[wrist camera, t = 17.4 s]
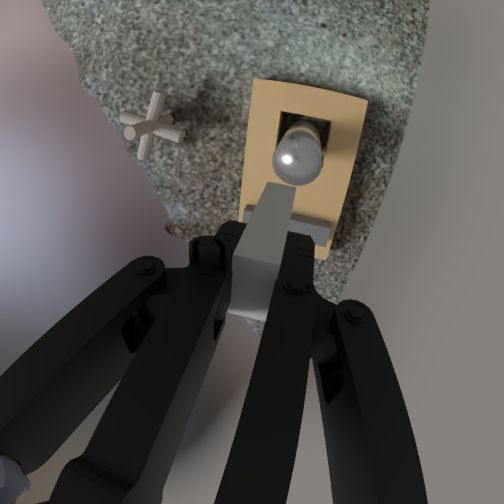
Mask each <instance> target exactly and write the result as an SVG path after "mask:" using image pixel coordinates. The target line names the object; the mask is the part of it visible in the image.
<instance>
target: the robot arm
mask: <svg viewBox="0 0 504 504" xmlns="http://www.w3.org/2000/svg"><path fill="white" fill-rule="evenodd" d="M295 192H296V187H293V186H288V185H283V184H278V183H273V182H267V184H266V186H265V188H264V190H263V192H262V194H261V196H260V199H259V201H258V203H257V205H256V207H255V209H254V211H253V213H252V215H251V217H250V219H249V221H248V223H243V222H238V221H232V220H229V221H227V222H226V223H224V224H222V225H221V227H220V228H219V230H218V232H217V233H216V235H215V236H208V235H207V236H200V237H197V238H195V239H193V240H192V241H190V242H189V260H190V264H189V265H188V267H185V268H165V265H164V263H163V261H162V260H160V259H159V258H157V257H154V256H143V257H139V258H137V259H135V260H133V261H131V262H130V263H129V264H128V265H126V266H125V267H124V268H122V269H121V270H120V271H118V272H117V273H116V274H115V275H113V276H112V277H111V278H110V279H108V280H107V281H106V282H105V283H103V284H102V285H101V286H100V287H98V288H97V289H96V290H95V291H94V292H92V293H91V294H90V295H89V296H87V297H86V298H85V299H84V300H83V301H81V302H80V303H79V304H78V305H77V306H76V307H74V308H73V309H72V310H71V311H70V312H69V313H67V314H66V315H65V316H64V317H63V318H62V319H61V320H60V321H58V322H57V323H56V324H55V325H54V326H53V327H52V328H50V330H48V331H47V332H46V333H45V334H44V335H43V336H42V337H41V338H39V339H38V340H37V341H36V342H35V343H34V344H33V345H32V346H31V347H30V348H29V349H28V350H27V351H26V352H24V353H23V354H22V355H21V356H20V357H19V358H18V359H17V360H16V361H15V362H14V363H13V364H12V365H11V366H10V367H9V368H8V369H7V370H6V371H5V372H4V374H2V375H1V376H0V504H15V501H16V499H17V497H18V496H19V495H21V493H23V491H24V490H25V491H27V490H29V489H30V480H29V479H28V477H27V476H26V475H27V474H29V473H31V472H34V471H35V470H37V469H38V468H39V467H41V466H42V465H43V464H44V463H45V462H47V460H49V458H50V457H52V455H53V454H54V453H55V452H56V451H57V450H58V449H59V448H60V446H61V445H62V444H63V443H64V442H65V441H66V440H67V438H68V437H69V436H70V435H71V434H72V433H73V432H74V431H75V429H76V428H77V427H78V426H79V425H80V424H81V423H82V422H83V421H84V420H85V418H86V417H87V416H88V415H89V414H90V413H91V412H92V411H93V410H94V408H95V407H96V406H97V405H98V404H99V403H100V402H101V401H102V400H103V398H104V397H105V396H106V395H107V394H108V393H109V392H110V391H111V390H112V389H113V387H114V386H115V385H116V384H117V383H118V382H119V381H120V380H121V381H120V383H119V385H118V387H117V389H116V391H115V392H114V394H113V396H112V398H111V400H110V402H109V404H108V406H107V408H106V410H105V412H104V413H103V416H102V418H101V419H100V421H99V423H98V425H97V427H96V429H95V431H94V434H93V436H92V438H91V440H90V442H89V444H88V446H87V448H86V450H85V451H84V453H83V454H82V455H81V456H79V457H77V458H75V459H72V460H70V461H69V462H68V463H67V464H66V465H65V467H64V468H63V470H62V471H61V474H60V476H59V478H58V480H57V482H56V485H55V487H54V489H53V492H52V494H51V496H50V499H49V501H45V502H41V503H38V504H161V502H162V493H163V488H164V485H165V482H166V480H167V477H168V474H169V472H170V469H171V466H172V464H173V461H174V458H175V455H176V453H177V450H178V448H179V445H180V442H181V440H182V437H183V434H184V432H185V429H186V426H187V423H188V421H189V418H190V416H191V413H192V410H193V408H194V405H195V402H196V399H197V397H198V394H199V392H200V389H201V386H202V383H203V381H204V378H205V376H206V373H207V370H208V367H209V364H210V362H211V360H212V357H213V354H214V351H215V349H216V346H217V343H218V341H219V338H220V335H221V333H222V330H223V327H224V325H225V316H226V312H227V309H228V307H229V313H232V314H237V315H241V316H245V317H249V318H253V319H258V320H262V321H265V325H264V329H263V333H262V337H261V341H260V345H259V349H258V353H257V357H256V360H255V364H254V368H253V372H252V376H251V379H250V383H249V387H248V390H247V394H246V398H245V401H244V405H243V408H242V412H241V416H240V419H239V423H238V426H237V430H236V434H235V437H234V440H233V443H232V447H231V450H230V454H229V457H228V460H227V464H226V467H225V470H224V473H223V477H222V480H221V483H220V486H219V489H218V492H217V496H216V499H215V502H214V504H286V500H287V495H288V491H289V486H290V482H291V477H292V472H293V467H294V462H295V457H296V451H297V446H298V440H299V434H300V428H301V422H302V415H303V408H304V401H305V394H306V386H307V377H308V370H309V361H310V358H312V359H313V366H314V372H315V377H316V384H317V390H318V396H319V402H320V408H321V415H322V421H323V428H324V435H325V441H326V449H327V457H328V464H329V473H330V481H331V489H332V498H333V504H428V501H427V495H426V490H425V484H424V478H423V473H422V468H421V464H420V459H419V455H418V451H417V446H416V442H415V438H414V434H413V430H412V427H411V423H410V419H409V416H408V412H407V409H406V406H405V402H404V399H403V395H402V392H401V389H400V386H399V383H398V380H397V377H396V374H395V372H394V368H393V365H392V362H391V359H390V356H389V354H388V351H387V348H386V345H385V343H384V340H383V337H382V335H381V332H380V330H379V327H378V324H377V322H376V319H375V317H374V315H373V313H372V311H371V310H370V308H368V307H367V306H366V305H365V304H363V303H361V302H359V301H357V300H351V299H349V300H343V301H341V302H340V303H338V305H336V304H334V303H332V302H330V301H328V300H326V299H324V298H323V297H321V296H320V295H319V294H318V293H317V291H316V290H315V286H314V285H313V274H314V256H315V242H314V241H313V239H312V237H311V236H310V235H305V234H300V233H296V232H291V231H288V228H289V223H290V218H291V213H292V208H293V203H294V198H295Z"/></svg>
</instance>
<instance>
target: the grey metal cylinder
mask: <svg viewBox="0 0 504 504" xmlns="http://www.w3.org/2000/svg"><path fill="white" fill-rule="evenodd" d="M272 165H273V169H274V171H275V173H276V175H277V176H278V177H279V178H280V179H281V180H282V181H284V182H285V183H287V184H290V185H294V186H303V185H307V184H309V183H311V182H312V181H314V180H315V179H316V178H317V177H318V175H319V174H320V172H321V169H322V154H321V143H320V134H319V130H318V128H317V127H316V126H315V125H314V124H313V123H311V122H309V121H306V120H299V121H296V122H294V123H293V124H292V125H291V126H290V127H289V129H288V130H287V132H286V133H285V135H284V137H283V138H282V140H281V141H280V143H279V144H278V146H277V148H276V149H275V151H274V153H273V157H272Z"/></svg>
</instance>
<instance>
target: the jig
mask: <svg viewBox="0 0 504 504" xmlns="http://www.w3.org/2000/svg"><path fill="white" fill-rule="evenodd" d="M367 103H368V100H365V99H361V98H358V97H354V96H350V95H346V94H342V93H338V92H334V91H329V90H325V89H320V88H315V87H310V86H305V85H299V84H293V83H287V82H280V81H273V80H265V79H255V78H254V80H253V89H252V97H251V106H250V114H249V123H248V132H247V141H246V150H245V160H244V169H243V179H242V189H241V199H240V209H239V219H238V222H243V223H248V221H249V219H250V217H251V215H252V213H253V211H254V209H255V207H256V205H257V203H258V201H259V199H260V196H261V194H262V192H263V190H264V188H265V186H266V184H267V182H273V183H278V184H283V185H288V186H293V187H296V192H295V198H294V203H293V208H292V213H291V218H290V223H289V228H288V231H291V232H296V233H300V234H305V235H310V236H311V237H312V239H313V241H314V242H315V256H314V258H318V259H323V260H326V259H327V256H328V253H329V249H330V246H331V243H332V240H333V237H334V234H335V230H336V227H337V224H338V220H339V217H340V214H341V210H342V207H343V203H344V200H345V196H346V192H347V189H348V185H349V181H350V177H351V174H352V170H353V166H354V162H355V158H356V154H357V149H358V145H359V141H360V136H361V132H362V128H363V123H364V118H365V113H366V108H367ZM283 111H284V112H290V113H296V114H301V115H306V116H311V117H316V118H321V119H325V120H330V121H331V122H330V127H329V132H328V137H327V142H326V147H325V152H324V157H323V161H322V169H321V172H320V174H319V175H318V177H317V178H316V179H315V180H314V181H312V182H311V183H309V184H307V185H303V186H294V185H290V184H287V183H285V182H284V181H282V180H281V179H280V178H279V177H278V176H277V175H276V173H275V171H274V169H273V165H272V157H273V153H274V151H275V149H276V148H277V146H278V142H279V136H280V129H281V122H282V115H283Z"/></svg>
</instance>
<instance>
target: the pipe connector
mask: <svg viewBox="0 0 504 504" xmlns="http://www.w3.org/2000/svg"><path fill="white" fill-rule="evenodd" d="M166 95H167V92H164V91H160V90H154V92H153V95H152V98H151V102H150V105H149V109H148V113H147V116H146V117H145V116H142V115H139V114H136V113H133V112H129V111H126V110H124V111H123V112H122V113H121V115H120V122H123V123H126V124H129V125H131V126H128V127H126V128H125V130H124V136H125V138H126V139H127V140H133V139H135V138H137V137H140V136H142V137H141V141H140V145H139V150H138V155H137V158H138V159H140V160H148V159H149V157H150V153H151V149H152V145H153V141H154V137H155V134H157V135H159V136H162V137H164V138H167V139H170V140H172V141H175V142H177V143H181V142H182V140H183V139H184V136H185V131H184V130H181V129H179V128H176V127H173V126H170V125H171V124H172V123H173V116H172V115H170V114H166V115H162V116H160V115H161V111H162V108H163V105H164V101H165V98H166Z"/></svg>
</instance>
